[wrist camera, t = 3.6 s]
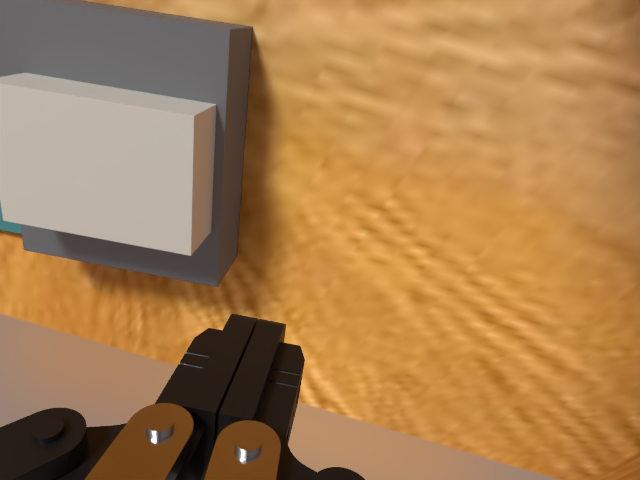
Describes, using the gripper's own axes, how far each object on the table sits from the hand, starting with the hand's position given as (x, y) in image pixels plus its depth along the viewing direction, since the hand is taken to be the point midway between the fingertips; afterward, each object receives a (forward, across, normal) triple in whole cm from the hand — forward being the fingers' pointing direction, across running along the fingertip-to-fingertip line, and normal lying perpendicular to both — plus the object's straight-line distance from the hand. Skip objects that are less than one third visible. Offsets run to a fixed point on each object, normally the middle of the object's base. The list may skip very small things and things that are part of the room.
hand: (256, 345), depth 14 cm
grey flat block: (+17, +11, 0) cm, 21 cm away
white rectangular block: (+13, +11, 0) cm, 17 cm away
